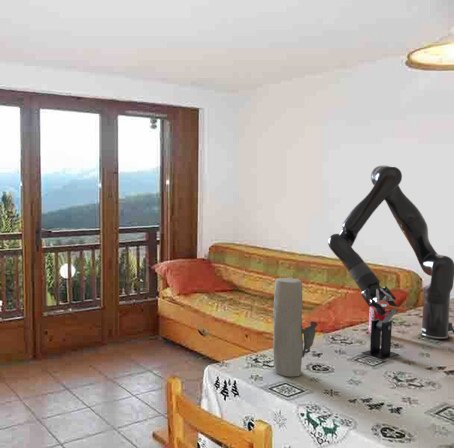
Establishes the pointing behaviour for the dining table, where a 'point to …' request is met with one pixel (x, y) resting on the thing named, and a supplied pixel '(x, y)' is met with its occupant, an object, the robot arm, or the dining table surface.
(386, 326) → the clamp bracket
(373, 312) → the soda can
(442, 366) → the dining table surface
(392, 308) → the clamp lever
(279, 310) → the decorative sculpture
